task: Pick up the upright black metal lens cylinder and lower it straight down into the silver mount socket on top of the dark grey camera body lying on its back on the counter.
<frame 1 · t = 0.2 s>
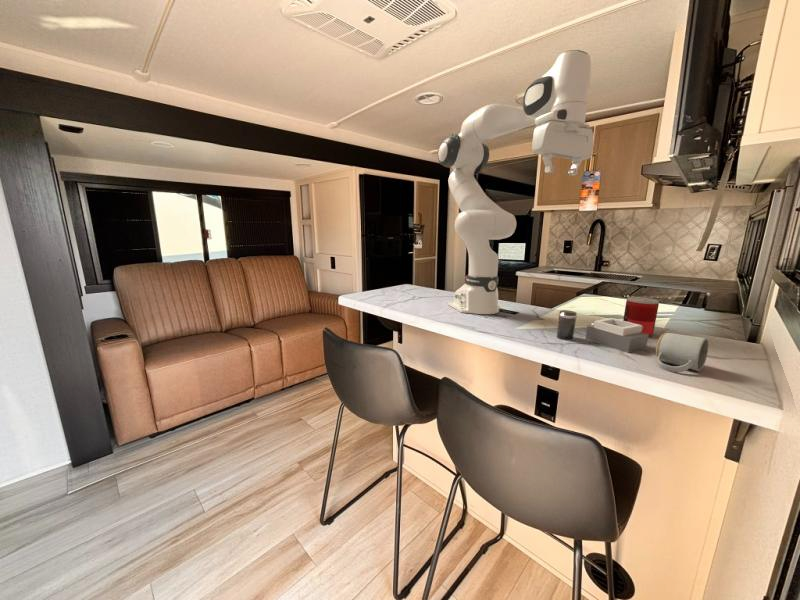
hand: (560, 173, 88), 47 cm above the table, fingers open, 8 cm apart
ceramic mug: (677, 367, 74), on the table
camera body: (614, 343, 89), on the table
canned food: (636, 333, 98), on the table
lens: (564, 337, 93), on the table
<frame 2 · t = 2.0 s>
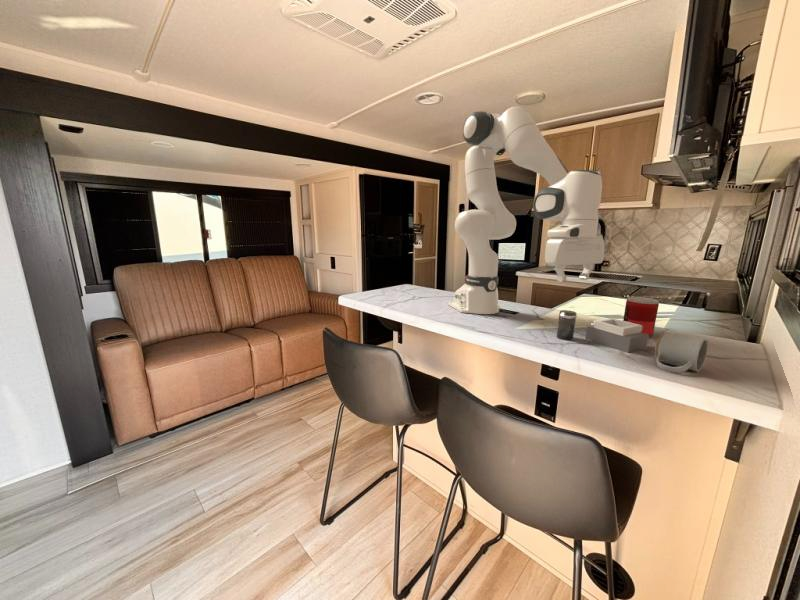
hand: (573, 280, 89), 17 cm above the table, fingers open, 8 cm apart
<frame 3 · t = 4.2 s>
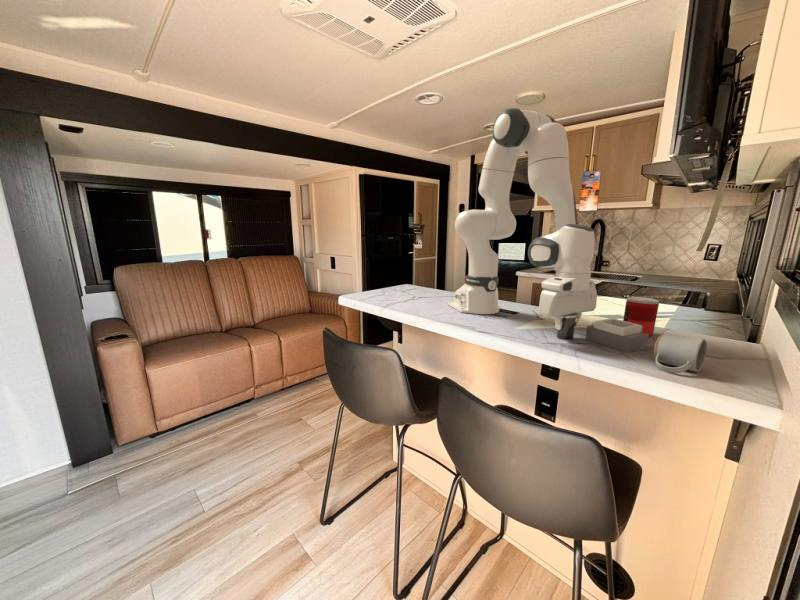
hand: (565, 327, 93), 3 cm above the table, fingers closed on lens, 4 cm apart
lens: (564, 337, 93), on the table, touching gripper
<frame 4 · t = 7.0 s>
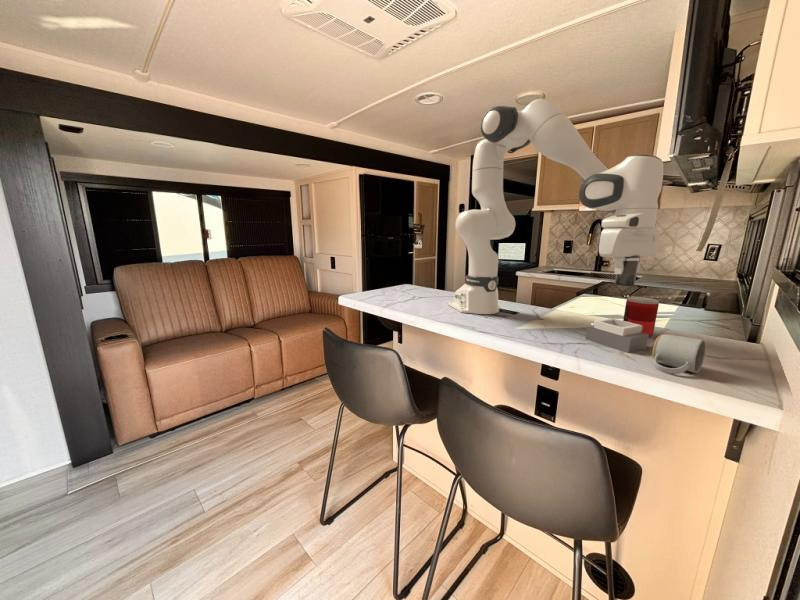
hand: (625, 273, 84), 20 cm above the table, fingers closed on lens, 4 cm apart
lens: (624, 284, 85), point 17 cm above the table, touching gripper
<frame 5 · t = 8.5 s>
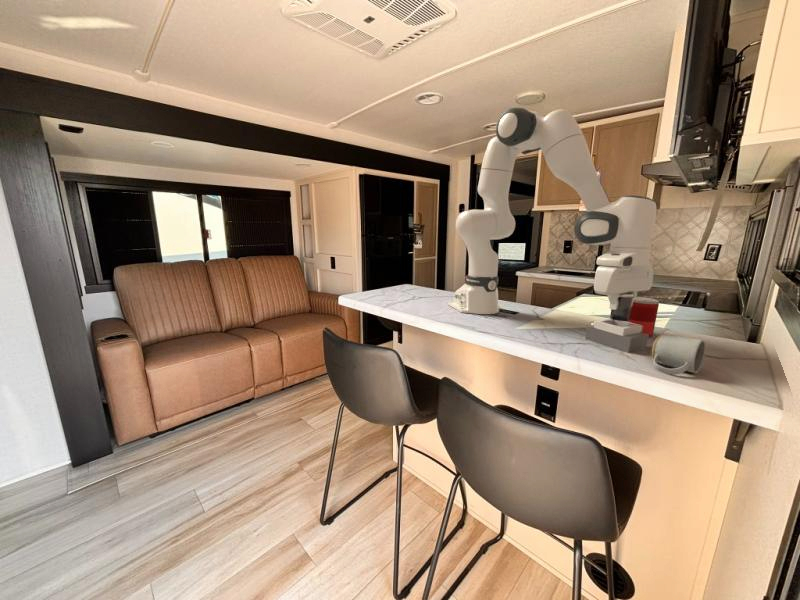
hand: (620, 308, 86), 10 cm above the table, fingers closed on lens, 4 cm apart
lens: (619, 318, 87), point 7 cm above the table, touching gripper
when the fingers open (8 cm above the table, at t = 9.8 s): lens stays where it is, resting on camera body.
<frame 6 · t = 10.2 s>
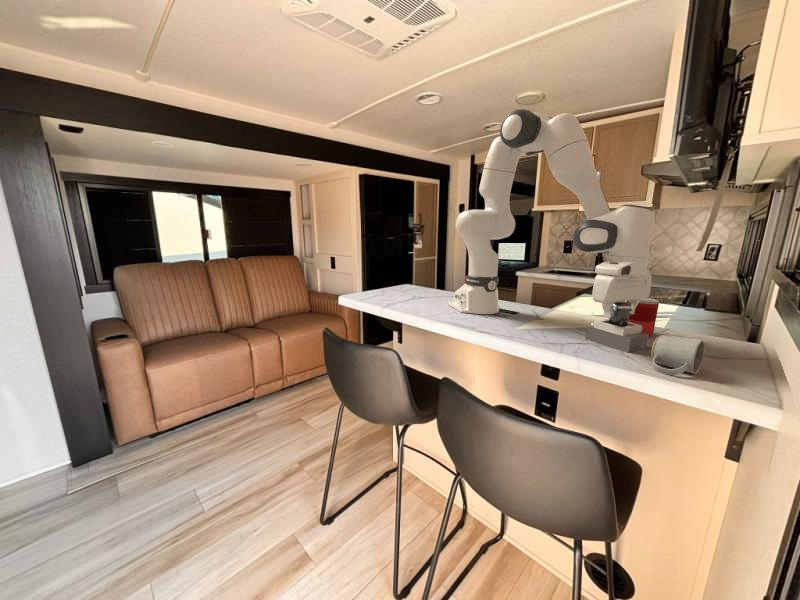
hand: (618, 315, 87), 8 cm above the table, fingers open, 8 cm apart
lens: (616, 329, 88), point 4 cm above the table, touching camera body
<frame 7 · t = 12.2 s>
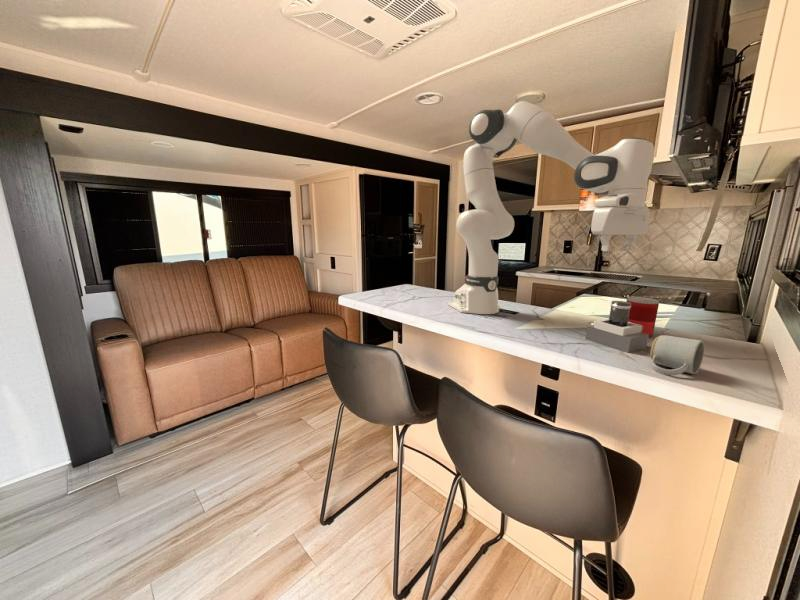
hand: (616, 250, 90), 26 cm above the table, fingers open, 8 cm apart
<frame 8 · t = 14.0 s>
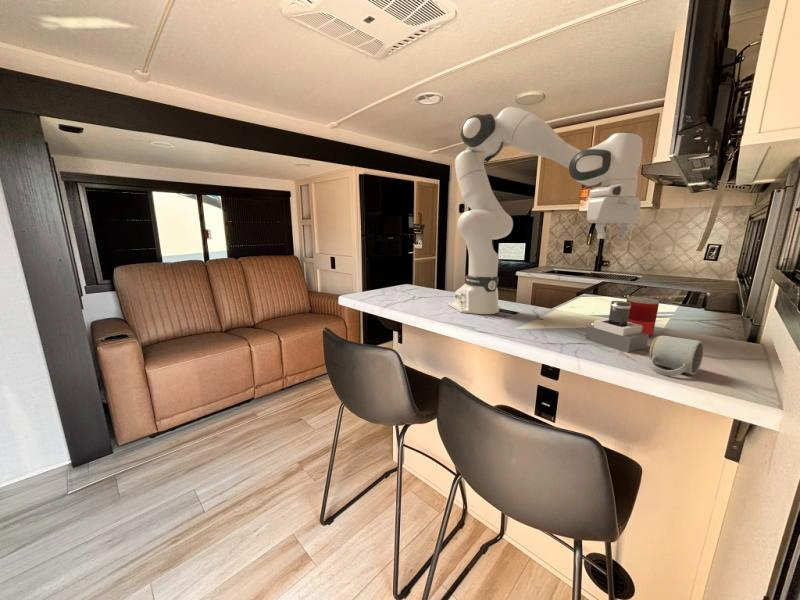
hand: (611, 238, 96), 29 cm above the table, fingers open, 8 cm apart
at the end: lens 0.0 cm off-centre on the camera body, point 4.0 cm above the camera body's base; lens tilted 0°; the gripper is holding nothing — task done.
